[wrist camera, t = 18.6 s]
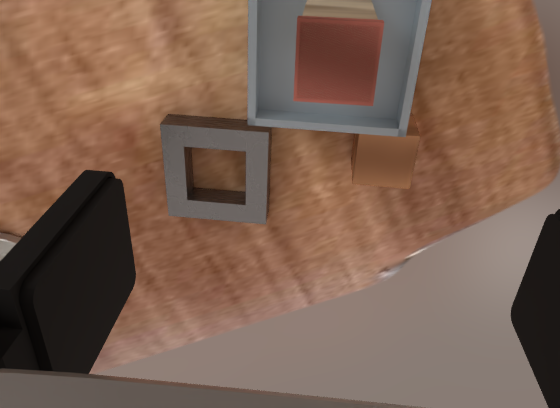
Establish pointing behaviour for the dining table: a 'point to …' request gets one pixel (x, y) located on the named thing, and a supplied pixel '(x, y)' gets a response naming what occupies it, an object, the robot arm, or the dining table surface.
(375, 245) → the dining table surface
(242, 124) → the socket block
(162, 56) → the dining table surface
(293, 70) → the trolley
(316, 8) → the pin
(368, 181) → the light brown cube
